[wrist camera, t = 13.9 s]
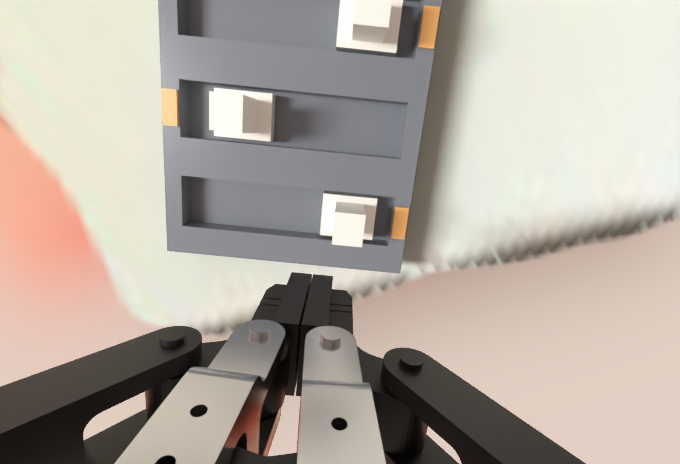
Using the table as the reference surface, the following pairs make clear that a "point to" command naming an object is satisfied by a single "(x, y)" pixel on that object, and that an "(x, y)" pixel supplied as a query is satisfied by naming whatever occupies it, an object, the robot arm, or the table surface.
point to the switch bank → (290, 129)
